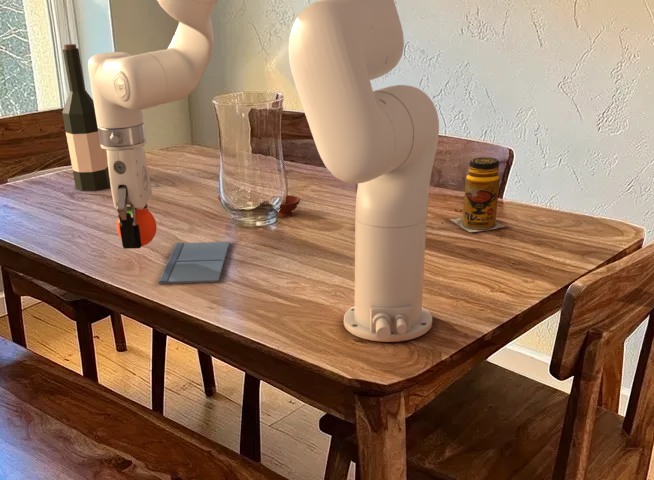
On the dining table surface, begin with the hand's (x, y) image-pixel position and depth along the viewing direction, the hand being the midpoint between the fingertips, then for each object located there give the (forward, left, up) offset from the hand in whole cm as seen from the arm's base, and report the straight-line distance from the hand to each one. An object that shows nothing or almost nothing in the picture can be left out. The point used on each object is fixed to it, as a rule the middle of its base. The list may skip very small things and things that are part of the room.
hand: (137, 239), depth 139 cm
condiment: (+14, -62, -4) cm, 64 cm away
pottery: (+28, -20, -4) cm, 35 cm away
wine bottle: (+51, +21, -4) cm, 55 cm away
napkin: (-2, -10, -4) cm, 11 cm away
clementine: (0, 0, -2) cm, 2 cm away
